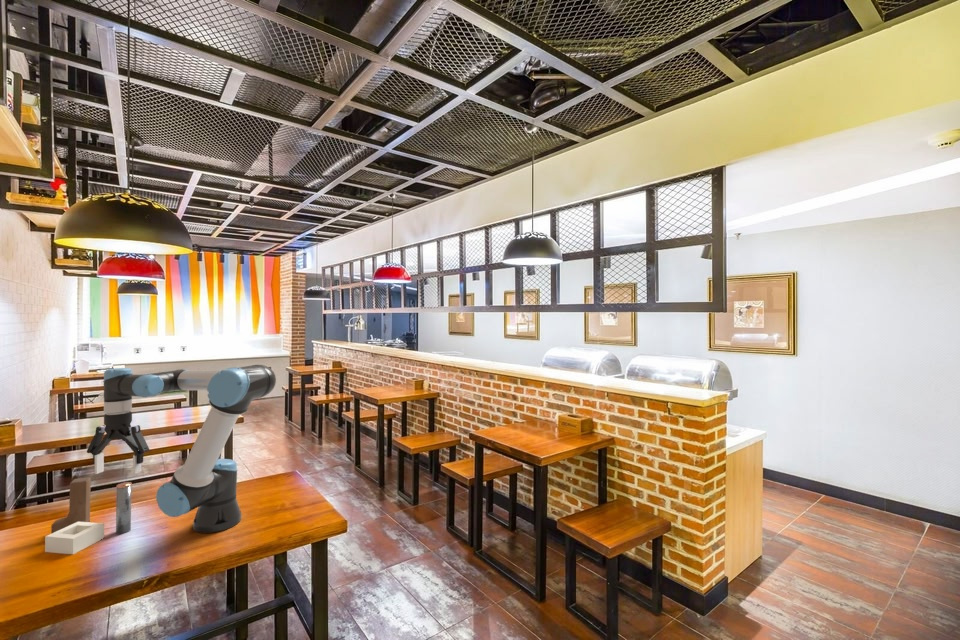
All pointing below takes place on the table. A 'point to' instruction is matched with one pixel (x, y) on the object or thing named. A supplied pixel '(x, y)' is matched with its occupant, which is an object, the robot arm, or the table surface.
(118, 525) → the peg
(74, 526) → the socket
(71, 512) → the wooden block
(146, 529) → the table surface
